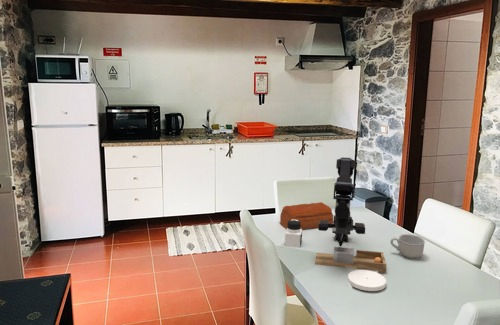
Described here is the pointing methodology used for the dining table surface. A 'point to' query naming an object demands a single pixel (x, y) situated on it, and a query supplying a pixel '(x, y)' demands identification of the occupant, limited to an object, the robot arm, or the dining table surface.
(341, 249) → the brushed metal u-channel
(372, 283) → the plastic lid
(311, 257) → the dining table surface
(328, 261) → the serving board
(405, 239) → the teacup
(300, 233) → the medicine bottle
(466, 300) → the dining table surface
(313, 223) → the bread
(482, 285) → the dining table surface
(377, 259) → the ball
